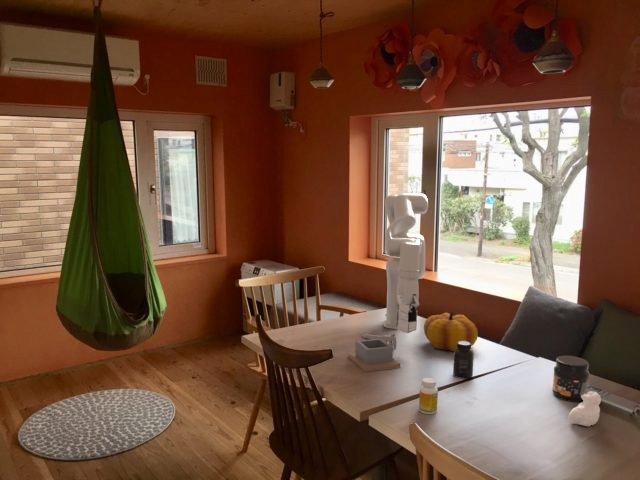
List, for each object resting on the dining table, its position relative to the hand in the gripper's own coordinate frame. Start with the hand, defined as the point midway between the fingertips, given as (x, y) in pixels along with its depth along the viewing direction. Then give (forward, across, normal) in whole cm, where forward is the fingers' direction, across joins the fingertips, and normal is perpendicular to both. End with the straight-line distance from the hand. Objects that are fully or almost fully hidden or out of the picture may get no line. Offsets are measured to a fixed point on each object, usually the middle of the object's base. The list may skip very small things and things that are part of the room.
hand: (407, 318), depth 214 cm
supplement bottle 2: (+14, +25, +10) cm, 30 cm away
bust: (+13, +67, +24) cm, 72 cm away
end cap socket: (+14, +4, -16) cm, 22 cm away
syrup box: (+5, 0, 0) cm, 5 cm away
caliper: (+16, -16, -4) cm, 23 cm away
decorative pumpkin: (+15, -3, +22) cm, 27 cm away
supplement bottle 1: (+13, +46, -16) cm, 51 cm away
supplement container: (+14, +50, +34) cm, 62 cm away
